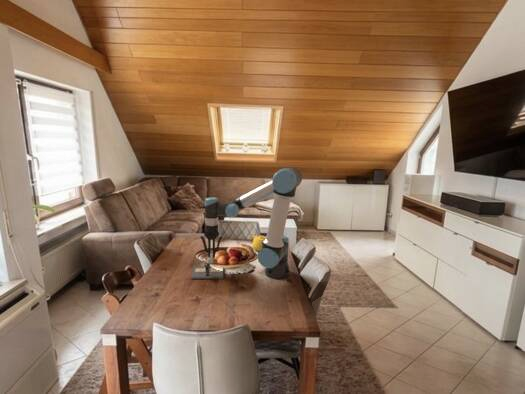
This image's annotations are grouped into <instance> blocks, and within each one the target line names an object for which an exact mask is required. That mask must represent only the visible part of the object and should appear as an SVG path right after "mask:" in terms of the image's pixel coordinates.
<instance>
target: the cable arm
mask: <svg viewBox="0 0 525 394" xmlns="http://www.w3.org/2000/svg"><path fill="white" fill-rule="evenodd" d="M203 266H205V268H210V266H211V263H210V258H209V257H208V256H206V261H205V263H204V265H203Z"/></svg>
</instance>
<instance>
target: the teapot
mask: <svg viewBox="0 0 525 394" xmlns="http://www.w3.org/2000/svg"><path fill="white" fill-rule="evenodd" d="M266 237H267V236H264V235H258V236H257V235H253V241H252V244H251V245H252V248H253V250H254V251H255V252H259V250H261V247H262V242H263V239H265V238H266Z"/></svg>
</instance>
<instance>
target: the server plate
mask: <svg viewBox="0 0 525 394" xmlns="http://www.w3.org/2000/svg"><path fill="white" fill-rule="evenodd" d="M211 266H212V265H210V268H205V265H194V266H193V268H192V269H193V270H192V271H191V274H190V280H207V279H208V280H210V279H214V280H215V279H216V280H217V279H218V280H219V279H220V280H221V279H224V274H223V271H220V270H216V269H214V268H212V267H211Z"/></svg>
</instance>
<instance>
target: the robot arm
mask: <svg viewBox="0 0 525 394" xmlns="http://www.w3.org/2000/svg"><path fill="white" fill-rule="evenodd" d="M302 180H303V176H302V173H301V171H300V169H298V168H296V167H293V166H290V167H289V166H288V167H284V168H281V169H279V170H278V171H276V172H275V173H274V175H273V176H272V179H271V180H270V181H267V182H266V183H264V184H262V185H260V186H257V187H256V188H254V189H252V190H251V191H248V192H247V193H245V194H242V195H241V196H238V197H237V198H235V199H233V200H231V201H228V202H220V201H219V198H218V197H212V196H211V197H207V198H205V201H204V233H203V234H201V235H200V239H201V242H202V244H203V248H204V251H205V252H207V257H209V258H210V264H213V263H214V258H215V257H216V252H219V248H220V244H221V240H222V239H223V234H220V232H219V216H222V217H229V218H236V217H237V216H238V215H239V212H241V211H242V210H244V209H246V208H249V207H251V206H252V205H254V204H257V203H259V202H260V201H263V200H265V199H267V198H269V197H271V196H273V195H274V196H273V197H274V198H273V203H272V208H271V213H270V217H269V222H268V227H267V232H266V236H265V237H266V238H265V239H263V242H262V247H261V250H259V251H257V252H258V253H257V256H256V257H257V261H258V263H259V264H260V266H262V267H263V268H264V274H265V276H266V277H268V278H272V279H277V280H279V279H287V278H288V277H290V276H291V268H290V263H289V244H290V242H289V241H290V240H289V237H287V236H286V235H284V234H285V228H286V223H287V220H288V214H289V210H290V205H291V201H292V199H293V198H295V196H296V191H297V188H298V187H299V186H300V185H301V183H302ZM217 238H218V240H217ZM206 239H207V242H206ZM216 240H217V244H216ZM211 241H212V242H211ZM211 245H212V247H211ZM211 248H212V250H211Z"/></svg>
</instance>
